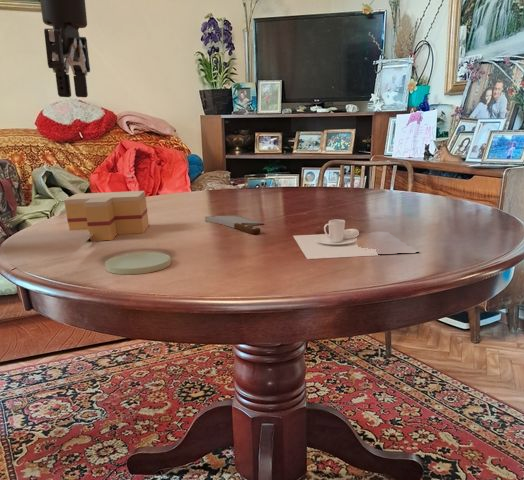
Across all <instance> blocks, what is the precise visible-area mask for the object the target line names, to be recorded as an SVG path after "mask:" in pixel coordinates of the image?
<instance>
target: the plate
mask: <svg viewBox="0 0 524 480" xmlns="http://www.w3.org/2000/svg"><path fill="white" fill-rule="evenodd" d="M171 264H172V259H171V256H170V255H168V254H166V253H162V252H152V251H151V252H149V251H147V252H134V253H126V254H122V255H117V256H113V257H111V258H108V259H107V260H106V261H104V268H105V271H106V272H108V273H111V274H115V275H140V274H141V275H142V274H149V273H154V272H158V271H162V270H164V269H166V268H168V267H170V266H171Z"/></svg>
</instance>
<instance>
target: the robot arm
mask: <svg viewBox="0 0 524 480" xmlns="http://www.w3.org/2000/svg"><path fill="white" fill-rule="evenodd" d="M39 1H40V3H39V4H40V11H41V17H42V23H44V24H45V25H46V26H49V27H52V28H44V29H43V32H44V42H45V52H46V62H47V66H48V68H49V69H52V72H53V73H54V74H55V82H56V90H57V95H58V96H59V98H71V97H72V88H71V80H70V74H69V72H70V69H71V72H72V75H73V76H72V77H73V83H74V93H75V96H76V97H77V98H87V97H88V96H89V93H88V84H87V77H88V73H90V72H91V65H90V58H89V57H90V56H89V49H88V48H89V47H88V40H87V37H86V36H80V31H79V30H80V29H85V28H86V27H87V26H88V19H87V18H88V17H87V7H86V0H39Z"/></svg>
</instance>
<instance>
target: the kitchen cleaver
mask: <svg viewBox="0 0 524 480" xmlns="http://www.w3.org/2000/svg"><path fill="white" fill-rule="evenodd" d="M204 222H207V223H212V224H213V223H214V224H219V225H223V226H227V227H230V228H233V229H236V230H239V231H242V232H244V233H248V234H251V235H260V233H261V228H260V227H254V226H259V225H264V224H265V223H264V222H261V221H258V220H255V219H252V218H247V217H244V216H239V215H205V216H204Z"/></svg>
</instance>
